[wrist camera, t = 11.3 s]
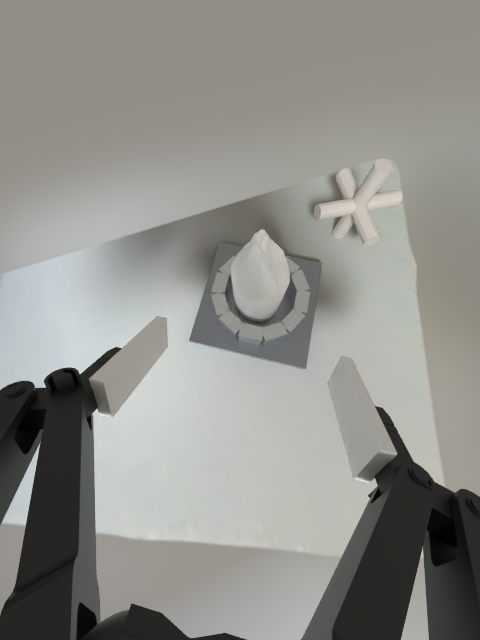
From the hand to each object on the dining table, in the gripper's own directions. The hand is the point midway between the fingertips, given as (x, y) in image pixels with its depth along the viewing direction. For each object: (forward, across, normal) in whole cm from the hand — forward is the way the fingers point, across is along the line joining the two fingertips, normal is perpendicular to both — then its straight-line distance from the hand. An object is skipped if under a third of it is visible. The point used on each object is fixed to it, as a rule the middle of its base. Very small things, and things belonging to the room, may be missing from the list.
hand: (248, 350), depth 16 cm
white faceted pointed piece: (+12, 0, -1) cm, 12 cm away
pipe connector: (+22, +9, +7) cm, 25 cm away
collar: (+12, 0, -2) cm, 13 cm away
